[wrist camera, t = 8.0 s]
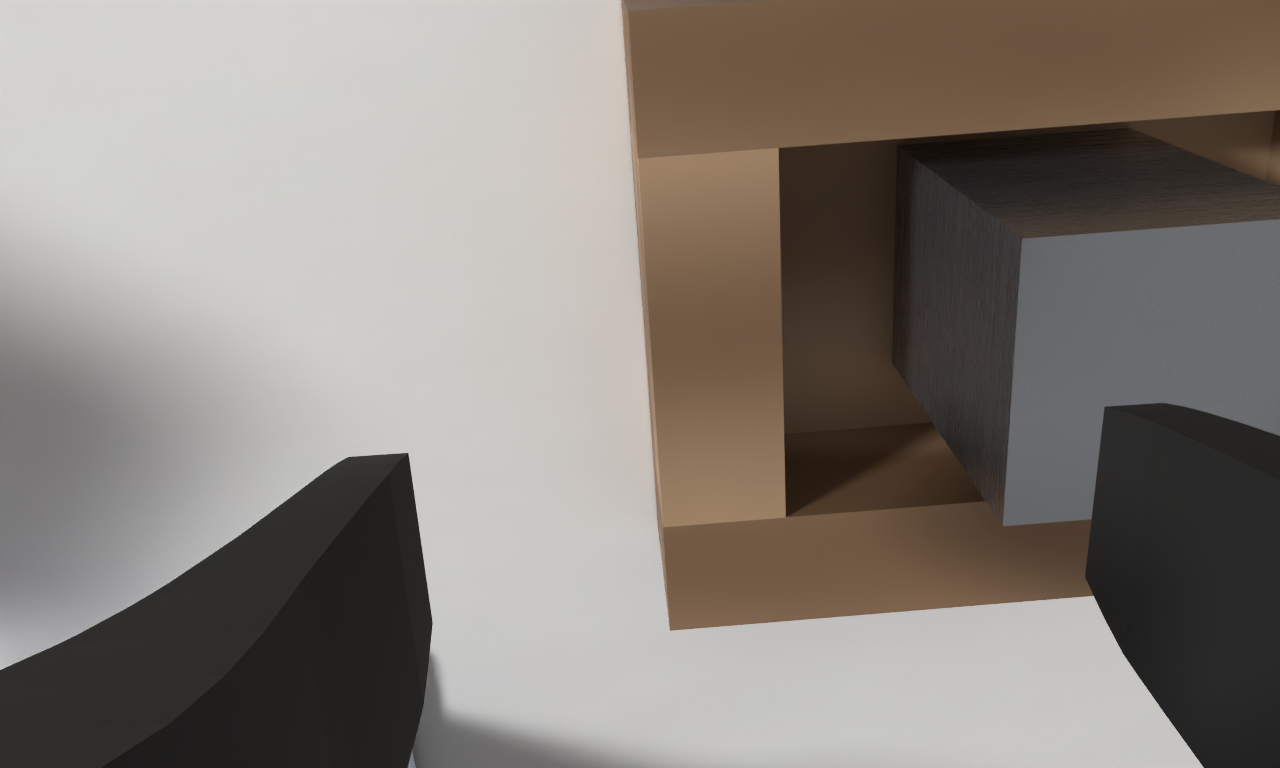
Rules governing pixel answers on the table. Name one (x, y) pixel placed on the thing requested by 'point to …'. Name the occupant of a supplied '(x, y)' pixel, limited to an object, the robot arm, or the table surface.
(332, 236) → the table surface
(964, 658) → the table surface
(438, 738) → the table surface
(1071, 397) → the tall grey block
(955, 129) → the well block
